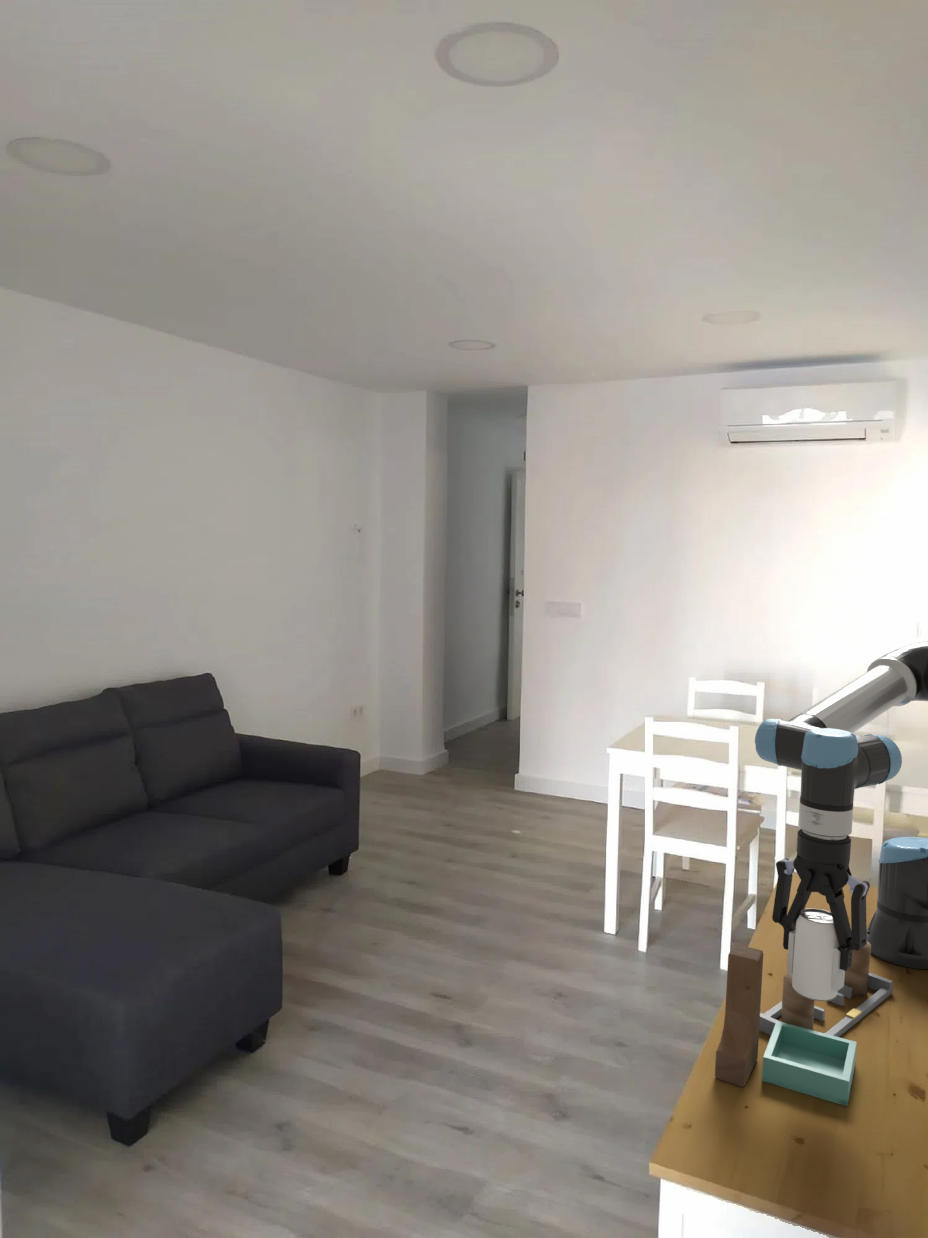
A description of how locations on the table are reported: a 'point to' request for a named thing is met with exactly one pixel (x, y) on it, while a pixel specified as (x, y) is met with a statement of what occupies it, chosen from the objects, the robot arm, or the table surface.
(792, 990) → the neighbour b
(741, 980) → the wooden block
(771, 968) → the table surface
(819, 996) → the can
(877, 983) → the grey flat open frame
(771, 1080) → the tray
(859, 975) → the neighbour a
